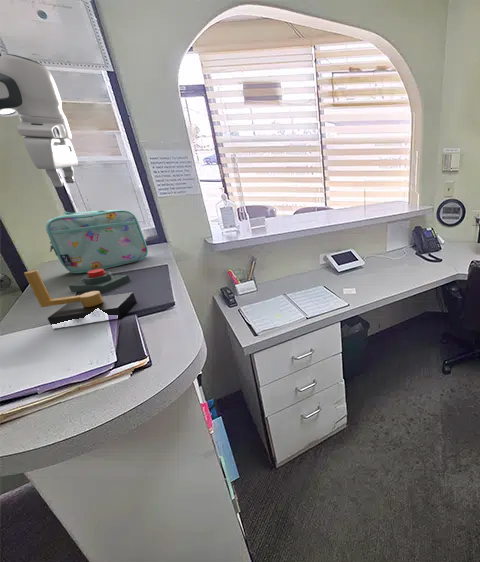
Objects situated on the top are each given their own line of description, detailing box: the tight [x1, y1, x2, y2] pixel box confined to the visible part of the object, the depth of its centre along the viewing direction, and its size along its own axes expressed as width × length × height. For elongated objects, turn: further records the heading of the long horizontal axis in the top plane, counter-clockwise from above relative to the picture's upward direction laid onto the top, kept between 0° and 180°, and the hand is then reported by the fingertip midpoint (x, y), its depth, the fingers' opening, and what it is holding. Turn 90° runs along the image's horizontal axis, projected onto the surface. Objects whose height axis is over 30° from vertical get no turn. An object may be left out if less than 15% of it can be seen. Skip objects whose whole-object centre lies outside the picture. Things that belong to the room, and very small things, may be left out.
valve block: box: [47, 291, 138, 326], centre depth 79 cm, size 14×10×3 cm
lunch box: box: [45, 209, 149, 274], centre depth 114 cm, size 27×10×21 cm, turn 136°
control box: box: [67, 270, 131, 293], centre depth 98 cm, size 12×9×4 cm
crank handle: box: [23, 269, 103, 308], centre depth 75 cm, size 12×4×10 cm, turn 108°
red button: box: [86, 269, 106, 278], centre depth 97 cm, size 4×4×2 cm
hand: (65, 184), depth 87 cm, fingers open, 8 cm apart
